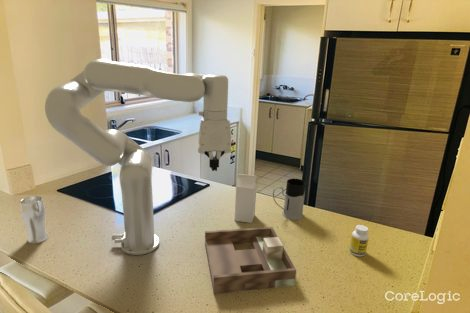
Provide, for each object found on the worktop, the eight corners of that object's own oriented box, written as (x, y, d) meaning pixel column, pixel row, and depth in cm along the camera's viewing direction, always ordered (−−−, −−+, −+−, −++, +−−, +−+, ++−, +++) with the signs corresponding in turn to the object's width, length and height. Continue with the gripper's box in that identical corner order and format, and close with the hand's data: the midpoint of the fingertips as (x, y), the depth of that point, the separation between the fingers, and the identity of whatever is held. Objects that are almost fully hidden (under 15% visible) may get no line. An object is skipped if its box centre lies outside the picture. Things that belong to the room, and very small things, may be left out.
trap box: (213, 293, 92) (214, 277, 90) (205, 245, 114) (205, 231, 112) (294, 285, 96) (296, 270, 95) (270, 240, 119) (272, 226, 117)
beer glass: (54, 236, 115) (47, 198, 110) (35, 246, 109) (28, 206, 104) (40, 231, 118) (34, 193, 113) (21, 241, 112) (14, 201, 107)
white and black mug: (306, 218, 135) (311, 185, 130) (275, 222, 131) (278, 188, 126) (297, 209, 143) (300, 177, 138) (267, 212, 139) (269, 179, 134)
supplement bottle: (357, 258, 110) (362, 233, 107) (345, 250, 115) (349, 225, 112) (368, 254, 113) (373, 229, 109) (356, 246, 117) (361, 222, 114)
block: (266, 260, 103) (267, 246, 101) (262, 251, 108) (263, 238, 106) (281, 259, 104) (283, 245, 102) (276, 250, 109) (278, 237, 107)
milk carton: (252, 223, 129) (254, 179, 123) (234, 221, 131) (236, 177, 124) (254, 215, 136) (257, 172, 130) (237, 212, 137) (240, 170, 131)
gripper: (192, 117, 98) (192, 174, 104) (240, 117, 101) (238, 172, 107) (190, 112, 105) (190, 166, 111) (236, 112, 108) (234, 164, 114)
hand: (214, 169), depth 109 cm, fingers closed
